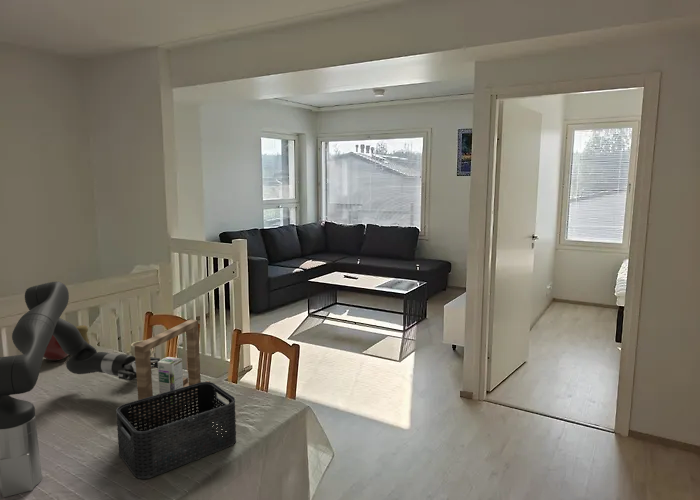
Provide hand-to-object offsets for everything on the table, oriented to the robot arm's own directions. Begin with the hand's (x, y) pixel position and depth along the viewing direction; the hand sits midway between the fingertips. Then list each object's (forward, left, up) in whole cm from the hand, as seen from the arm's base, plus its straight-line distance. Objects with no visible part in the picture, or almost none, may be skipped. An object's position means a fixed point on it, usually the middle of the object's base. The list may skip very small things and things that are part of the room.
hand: (157, 370), depth 164 cm
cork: (+65, +24, -11) cm, 70 cm away
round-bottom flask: (+58, +33, -11) cm, 68 cm away
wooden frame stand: (-4, -4, -11) cm, 12 cm away
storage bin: (-33, -2, -11) cm, 35 cm away
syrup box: (-4, -4, -10) cm, 11 cm away
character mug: (+24, +3, -11) cm, 27 cm away
